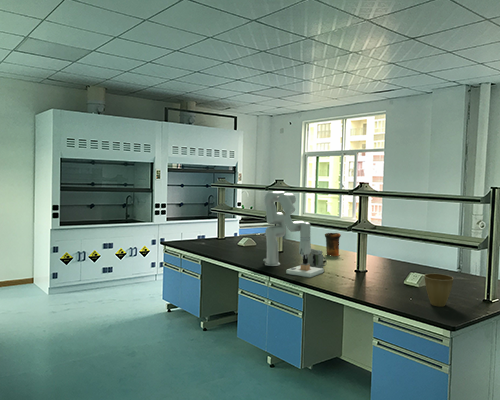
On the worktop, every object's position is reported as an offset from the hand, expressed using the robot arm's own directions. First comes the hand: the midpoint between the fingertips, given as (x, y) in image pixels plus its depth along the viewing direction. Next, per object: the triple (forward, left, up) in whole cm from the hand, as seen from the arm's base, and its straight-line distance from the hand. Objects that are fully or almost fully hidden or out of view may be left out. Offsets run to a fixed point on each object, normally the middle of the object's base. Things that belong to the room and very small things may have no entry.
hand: (305, 263), depth 314 cm
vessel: (-18, +78, -8) cm, 80 cm away
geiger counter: (-5, +26, -8) cm, 28 cm away
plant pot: (+99, -21, -8) cm, 101 cm away
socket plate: (0, 0, -7) cm, 7 cm away
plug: (0, 0, -7) cm, 7 cm away
